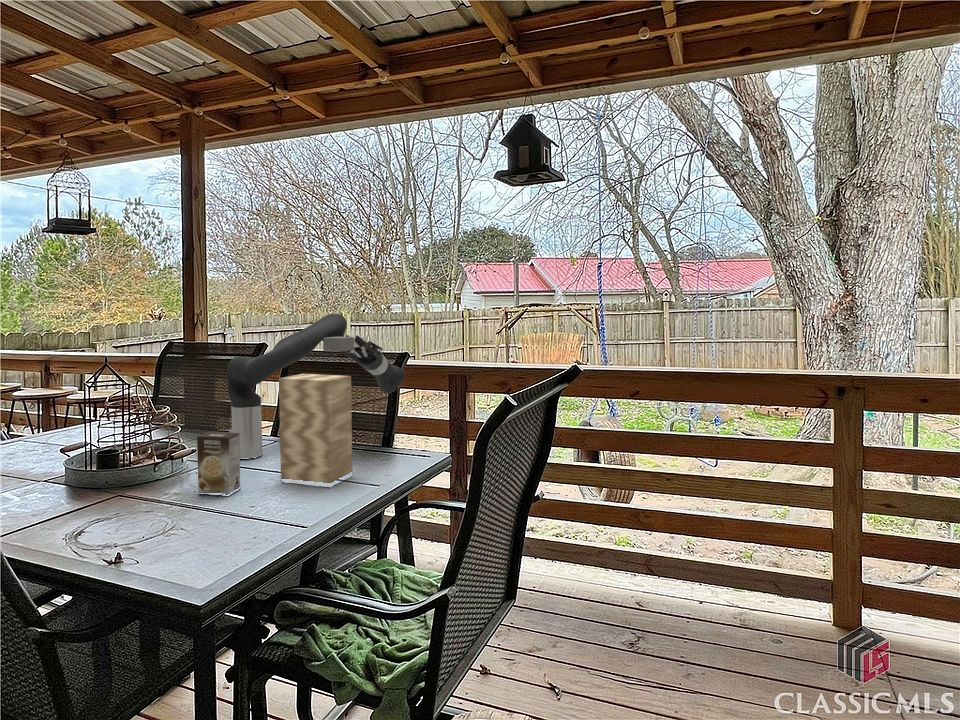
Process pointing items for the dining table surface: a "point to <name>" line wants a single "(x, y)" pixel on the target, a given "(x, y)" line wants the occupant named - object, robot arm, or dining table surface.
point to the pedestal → (315, 427)
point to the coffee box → (218, 462)
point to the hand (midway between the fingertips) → (351, 338)
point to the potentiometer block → (340, 343)
